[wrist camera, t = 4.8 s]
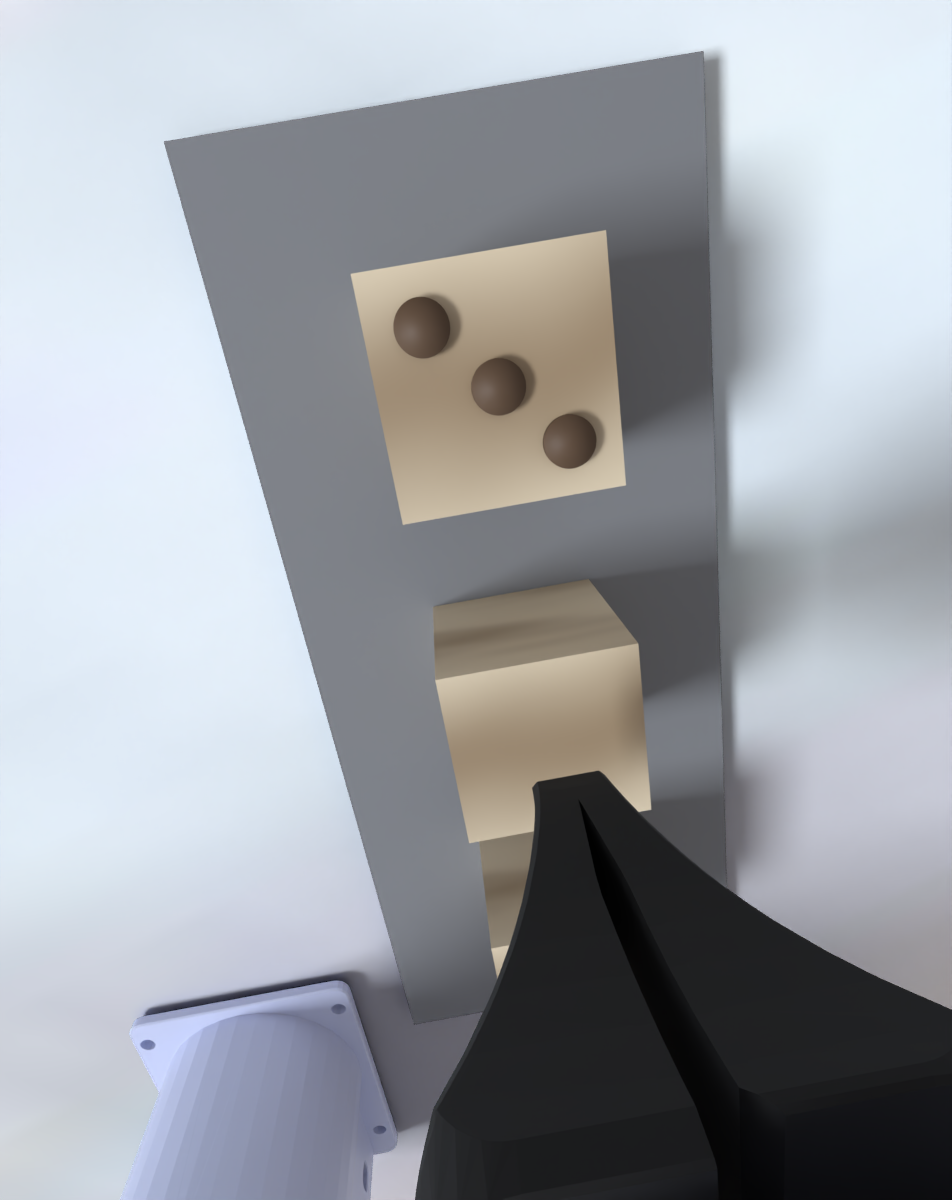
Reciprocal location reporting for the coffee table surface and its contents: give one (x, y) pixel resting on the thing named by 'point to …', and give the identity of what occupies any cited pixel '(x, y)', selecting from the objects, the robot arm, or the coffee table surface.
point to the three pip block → (495, 375)
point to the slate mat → (491, 537)
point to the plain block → (537, 700)
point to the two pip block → (504, 887)
